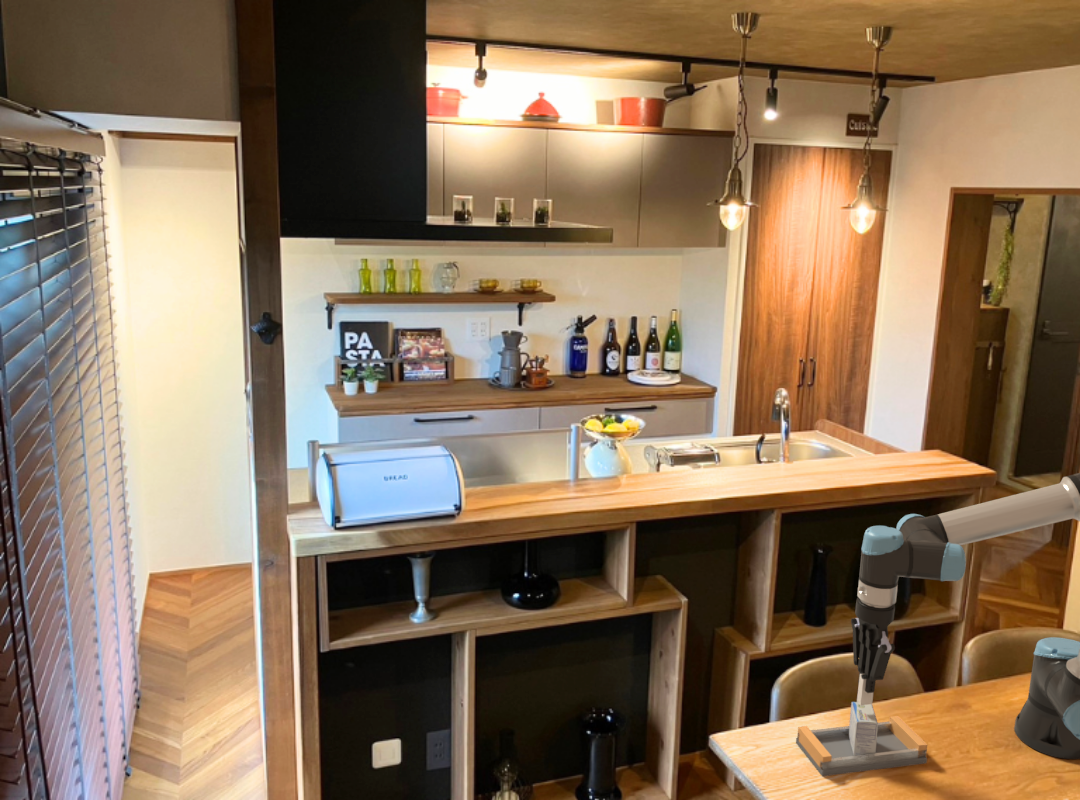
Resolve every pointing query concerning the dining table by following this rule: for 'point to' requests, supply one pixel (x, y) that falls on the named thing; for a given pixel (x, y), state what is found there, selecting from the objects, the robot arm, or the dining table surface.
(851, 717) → the medicine box
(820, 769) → the grey shallow tray
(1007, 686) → the dining table surface
